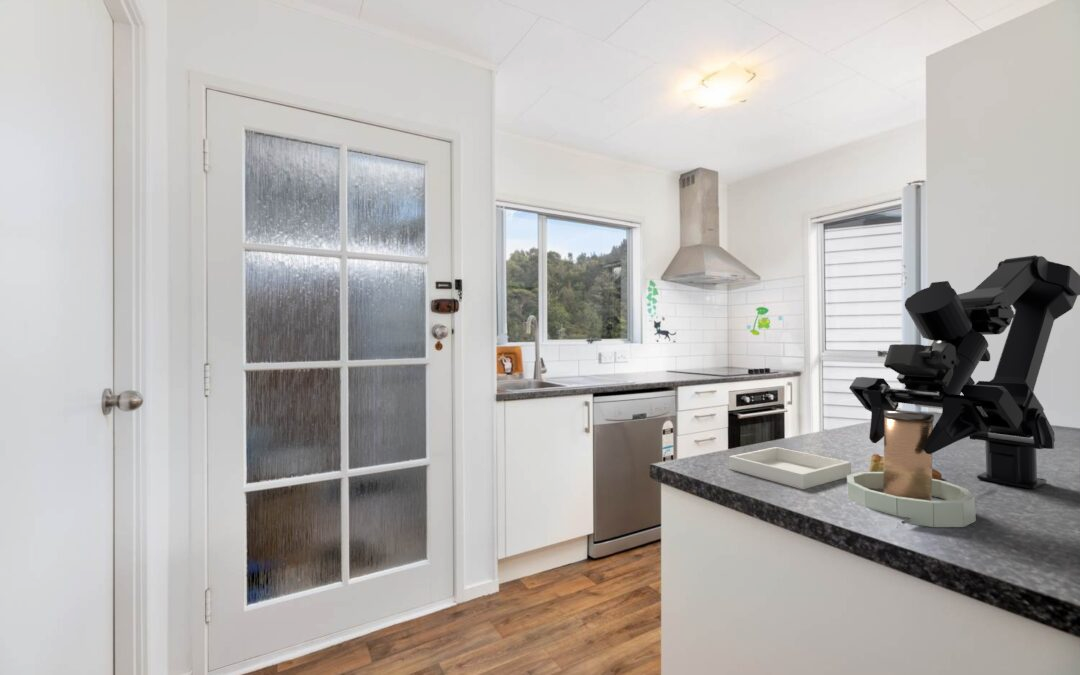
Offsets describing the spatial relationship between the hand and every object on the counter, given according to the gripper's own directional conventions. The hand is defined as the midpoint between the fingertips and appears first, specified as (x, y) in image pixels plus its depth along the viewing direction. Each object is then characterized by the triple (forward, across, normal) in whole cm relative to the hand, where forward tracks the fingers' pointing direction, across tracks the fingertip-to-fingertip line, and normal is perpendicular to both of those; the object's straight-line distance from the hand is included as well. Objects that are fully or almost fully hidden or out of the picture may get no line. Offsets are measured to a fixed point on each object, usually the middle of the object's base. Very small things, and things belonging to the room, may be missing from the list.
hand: (897, 446), depth 63 cm
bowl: (+5, 0, +7) cm, 9 cm away
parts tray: (+7, -17, +5) cm, 19 cm away
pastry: (-4, -9, +16) cm, 19 cm away
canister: (+4, 0, +6) cm, 8 cm away
